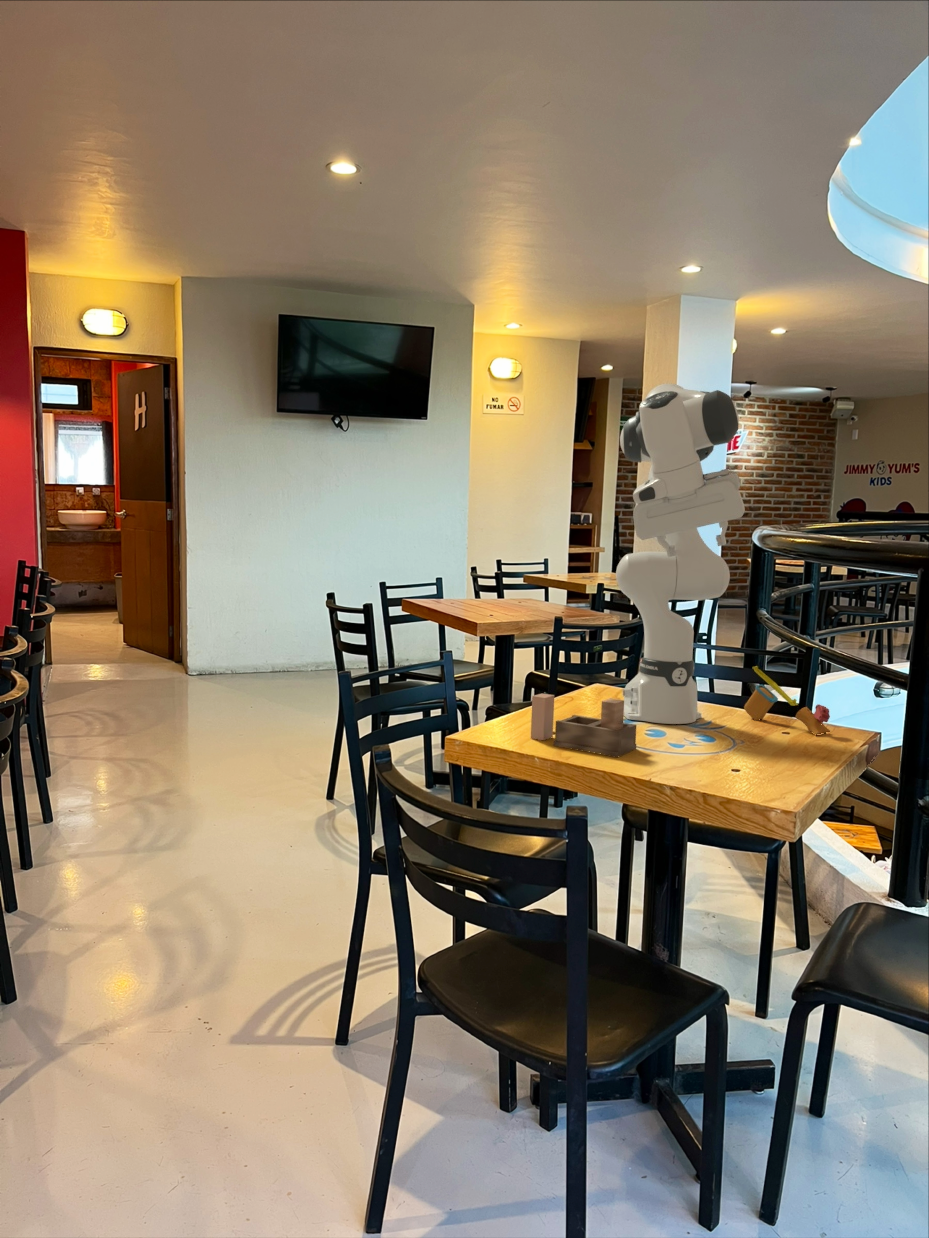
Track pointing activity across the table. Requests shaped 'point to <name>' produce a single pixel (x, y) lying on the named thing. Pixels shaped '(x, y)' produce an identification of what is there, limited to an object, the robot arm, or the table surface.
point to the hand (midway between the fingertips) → (697, 550)
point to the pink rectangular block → (542, 716)
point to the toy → (765, 699)
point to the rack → (598, 731)
